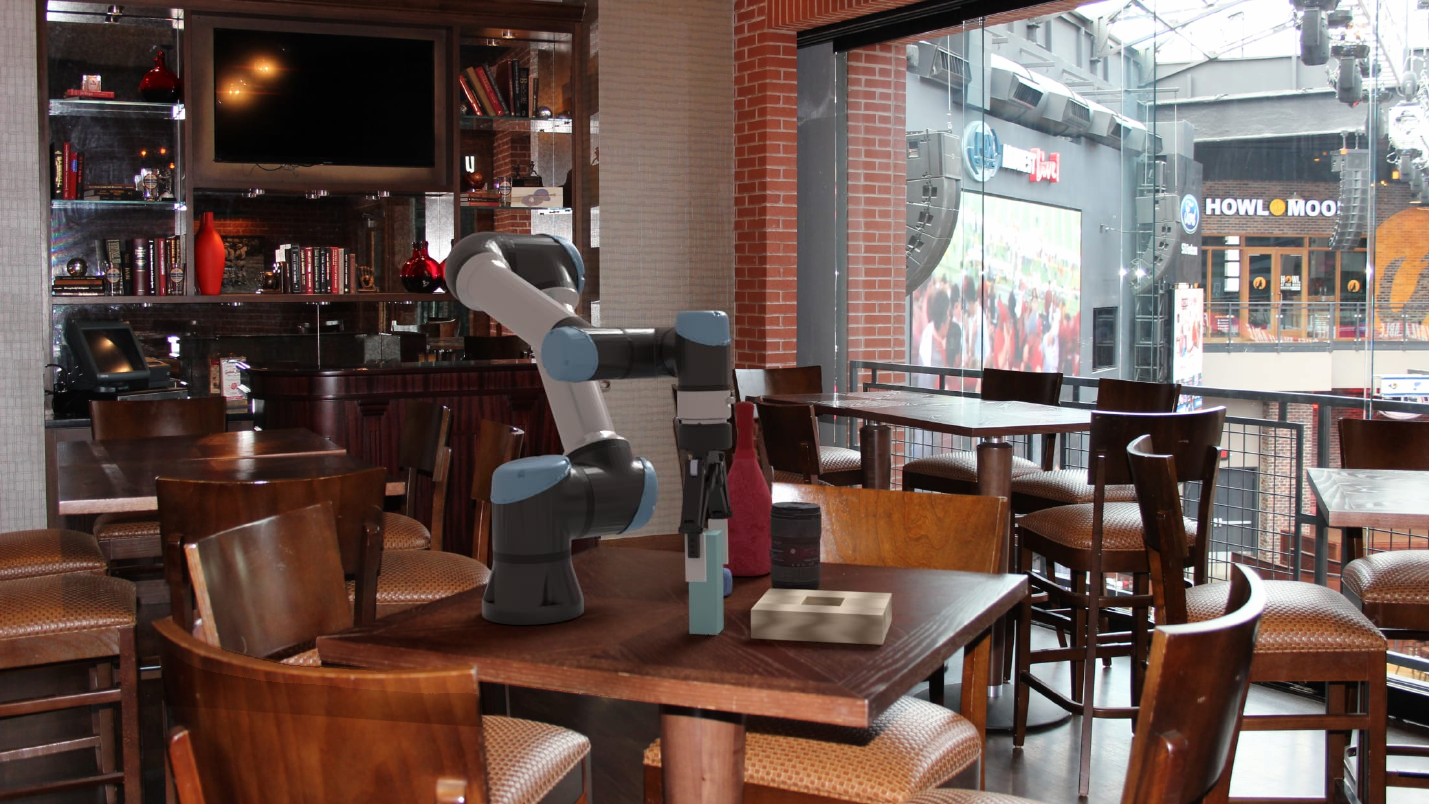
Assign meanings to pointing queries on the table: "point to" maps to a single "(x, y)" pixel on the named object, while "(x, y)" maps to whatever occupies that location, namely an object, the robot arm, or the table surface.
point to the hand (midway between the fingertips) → (707, 572)
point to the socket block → (822, 616)
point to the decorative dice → (727, 582)
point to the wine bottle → (748, 504)
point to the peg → (708, 590)
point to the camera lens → (795, 545)
